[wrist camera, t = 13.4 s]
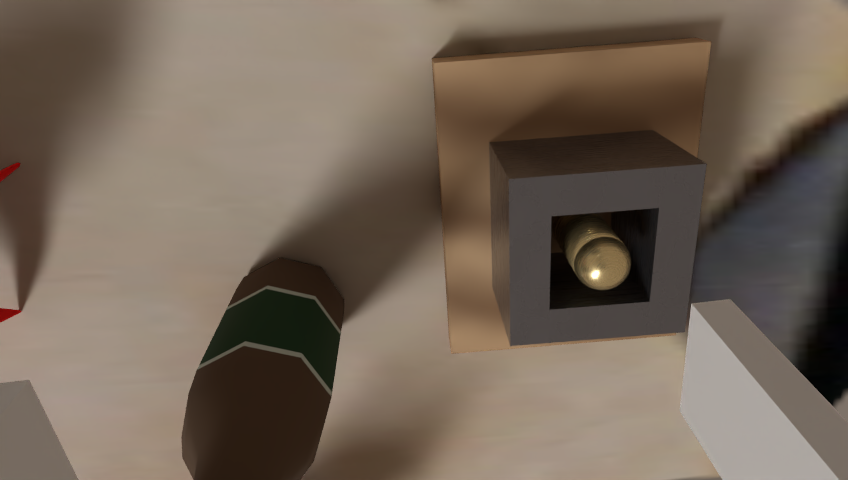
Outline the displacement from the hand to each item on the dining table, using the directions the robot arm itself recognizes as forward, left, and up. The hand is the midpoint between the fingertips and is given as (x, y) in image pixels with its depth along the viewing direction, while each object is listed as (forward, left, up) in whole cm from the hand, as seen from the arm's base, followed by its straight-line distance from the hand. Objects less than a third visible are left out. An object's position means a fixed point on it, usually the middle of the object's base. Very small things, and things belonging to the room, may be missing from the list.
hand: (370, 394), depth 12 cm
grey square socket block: (+7, +11, -26) cm, 29 cm away
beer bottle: (+13, -8, -28) cm, 32 cm away
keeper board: (+7, +11, -28) cm, 31 cm away
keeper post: (+7, +11, -26) cm, 29 cm away
